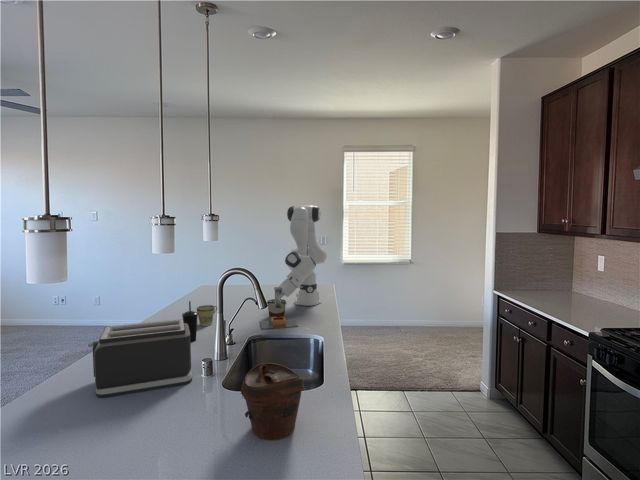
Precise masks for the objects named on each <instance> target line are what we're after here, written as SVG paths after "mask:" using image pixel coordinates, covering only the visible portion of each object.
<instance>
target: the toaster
mask: <svg viewBox="0 0 640 480" xmlns="http://www.w3.org/2000/svg"><path fill="white" fill-rule="evenodd" d="M191 344H192V342H190V331H189V326H188V324H186V323H184V320H183V318H179V319H178V318H177V319H172V320H171V319H169V320H161V321H150V322H148V321H147V322H138V323H130V324H129V323H128V324H119V325H118V324H117V325H112V326H111V325H110V326H109V325H107V326H105V328H104V329H103V332H102V333H101V335H100V337H99V340H98V341H93V342H88V343H87V347H88V348H89V347H92V362H93V363H92V364H93V366H92V367H93V377H94V386H95V396H96V398H99V399H105V398H110V397H118V396H122V395H123V396H124V395H128V394H137V393H143V392H149V391H155V390H162V389H167V388H174V387H179V386H186V385H188V384H191V383H192V381H193V370H192V352H191V351H192V350H191V348H192V347H191Z"/></svg>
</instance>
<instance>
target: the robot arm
mask: <svg viewBox="0 0 640 480" xmlns="http://www.w3.org/2000/svg"><path fill="white" fill-rule="evenodd" d="M321 214H322V212H321V210H320V207H319V206H317V205H305V204H304V205H296V206H295V205H291V206H289V207H288V208H287V212H286V216H287V220H288V221H289V222H290V225H289V231H290V234H291V236H292V238H293V239H294V241H295V244H296V247H297V248H294V249H291V251H290V252H289V253H287V255H286V257H285V259H284V263H285V264H286V266H287V267H288V268H289V270H291V271H290V272H289V274H287V275H286V279H284V280H283V281H282V282H281V283H280V284H279V285H278V287H281V288H282V290H281V294H280V295H278V296H277V299H278V300H279V299H280V298H281V299H282V298H283V297H286V298H288V297H289V296H291V295H293V294H294V292H295V291H297V289H299V290H298V292H297V293H296V294H295V295H296V298H295V303H294V305H298V306H299V305H300V306H317V305H319V304H322V300H320V291H319V290H318V283H317V273H316V271H315V269H316V266H317V265H320V264H324V263H326V260H327V255H328V254H327V252H326V251H325V249H323V248H322V247H321V246H320V245H319V243H318V241H317V238H316V226H315V225H316V224H315V223H316V222H318V221H319V220H320V219H321V216H322V215H321Z"/></svg>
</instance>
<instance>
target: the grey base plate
mask: <svg viewBox="0 0 640 480" xmlns="http://www.w3.org/2000/svg"><path fill="white" fill-rule="evenodd" d="M259 324H260V328H261V330H272V329H287V328H288V329H289V328H298V327H299V326H298V324H297V322H296V321H295V319H294V318H293V319H286V317H285V316H283V317H270V320H266V321H265V320H263V321H259Z"/></svg>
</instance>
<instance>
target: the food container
mask: <svg viewBox="0 0 640 480" xmlns="http://www.w3.org/2000/svg"><path fill="white" fill-rule="evenodd" d="M287 304H288V303H287V301H286V300H285V299H282V298H281V308H275V298H274V299H269V300H267V301H266V305H267V310H268V316H269V317H268V318H271V317H283V316H284V317H285V315H286V306H287Z"/></svg>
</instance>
